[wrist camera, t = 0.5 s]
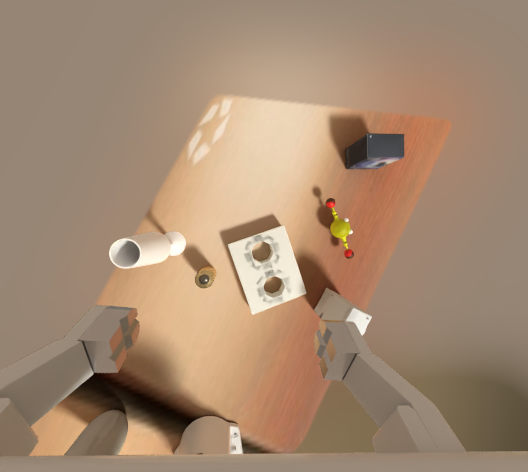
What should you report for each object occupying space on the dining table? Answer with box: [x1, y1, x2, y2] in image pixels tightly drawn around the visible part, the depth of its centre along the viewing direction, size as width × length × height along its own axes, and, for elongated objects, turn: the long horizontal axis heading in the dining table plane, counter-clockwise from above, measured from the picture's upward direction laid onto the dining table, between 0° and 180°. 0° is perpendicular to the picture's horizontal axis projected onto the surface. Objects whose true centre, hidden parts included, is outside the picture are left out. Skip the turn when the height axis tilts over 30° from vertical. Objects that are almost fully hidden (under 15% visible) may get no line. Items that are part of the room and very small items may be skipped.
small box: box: [345, 133, 404, 169], centre depth 57 cm, size 11×6×10 cm, turn 93°
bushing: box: [195, 266, 216, 288], centre depth 54 cm, size 4×4×7 cm
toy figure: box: [326, 198, 354, 259], centre depth 58 cm, size 18×6×7 cm, turn 21°
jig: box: [228, 225, 307, 315], centre depth 57 cm, size 20×16×4 cm
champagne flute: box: [109, 231, 186, 268], centre depth 44 cm, size 7×7×24 cm
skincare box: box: [314, 288, 372, 335], centre depth 55 cm, size 8×6×15 cm
